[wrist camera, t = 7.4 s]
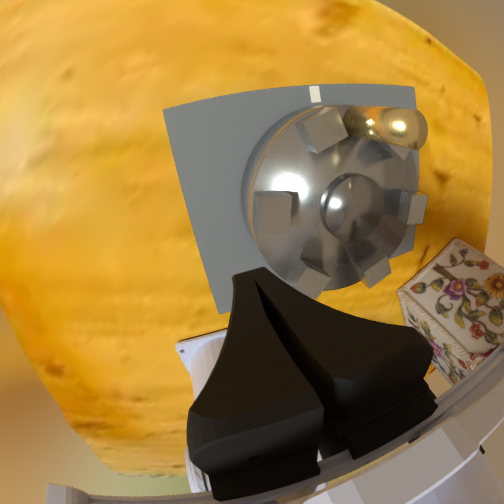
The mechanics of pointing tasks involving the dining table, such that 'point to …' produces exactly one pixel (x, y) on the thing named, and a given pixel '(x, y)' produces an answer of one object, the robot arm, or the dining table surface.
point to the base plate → (235, 159)
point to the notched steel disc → (334, 193)
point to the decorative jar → (457, 308)
